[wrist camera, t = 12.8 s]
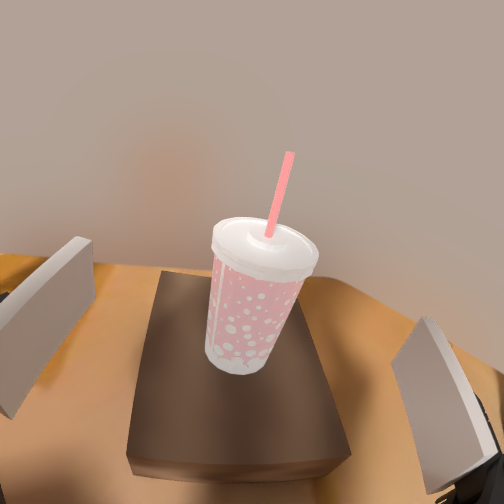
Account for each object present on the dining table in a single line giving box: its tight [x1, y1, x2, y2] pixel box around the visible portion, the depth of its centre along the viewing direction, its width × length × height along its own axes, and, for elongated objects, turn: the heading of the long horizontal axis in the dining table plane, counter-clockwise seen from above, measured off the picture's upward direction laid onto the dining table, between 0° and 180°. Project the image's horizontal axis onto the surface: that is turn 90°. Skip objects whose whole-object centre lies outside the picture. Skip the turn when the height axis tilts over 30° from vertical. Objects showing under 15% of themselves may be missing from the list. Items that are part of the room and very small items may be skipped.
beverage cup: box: [205, 151, 319, 375], centre depth 18 cm, size 6×6×14 cm
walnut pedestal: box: [126, 271, 352, 483], centre depth 22 cm, size 13×18×4 cm
